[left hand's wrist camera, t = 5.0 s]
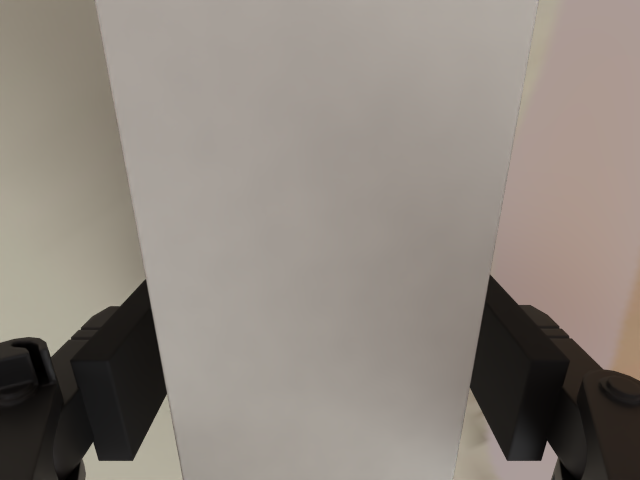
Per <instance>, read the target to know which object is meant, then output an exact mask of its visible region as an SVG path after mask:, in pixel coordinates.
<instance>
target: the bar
mask: <svg viewBox="0 0 640 480" xmlns="http://www.w3.org/2000/svg"><path fill="white" fill-rule="evenodd" d="M538 2H539V0H95V5H96V10H97V15H98V21H99V26H100V32H101V37H102V43H103V48H104V53H105V59H106V64H107V70H108V75H109V81H110V86H111V91H112V97H113V102H114V108H115V113H116V119H117V124H118V129H119V135H120V140H121V146H122V151H123V157H124V162H125V167H126V173H127V178H128V184H129V189H130V195H131V200H132V205H133V211H134V216H135V222H136V227H137V233H138V238H139V243H140V249H141V254H142V260H143V265H144V270H145V276H146V281H147V287H148V292H149V298H150V303H151V308H152V314H153V319H154V325H155V330H156V336H157V341H158V346H159V352H160V357H161V363H162V368H163V374H164V379H165V384H166V390H167V395H168V401H169V406H170V412H171V417H172V422H173V428H174V433H175V439H176V444H177V450H178V455H179V460H180V466H181V471H182V477H183V480H453V477H454V471H455V466H456V460H457V455H458V449H459V444H460V438H461V432H462V427H463V421H464V416H465V410H466V404H467V399H468V393H469V388H470V382H471V376H472V371H473V365H474V360H475V354H476V349H477V343H478V337H479V332H480V326H481V321H482V315H483V309H484V304H485V298H486V293H487V287H488V281H489V276H490V270H491V265H492V259H493V254H494V248H495V242H496V237H497V231H498V226H499V220H500V214H501V209H502V203H503V198H504V192H505V186H506V181H507V175H508V170H509V164H510V159H511V153H512V147H513V142H514V136H515V131H516V125H517V119H518V114H519V108H520V103H521V97H522V91H523V86H524V80H525V75H526V69H527V64H528V58H529V52H530V47H531V41H532V36H533V30H534V24H535V19H536V13H537V8H538Z"/></svg>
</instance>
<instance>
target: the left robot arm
mask: <svg viewBox="0 0 640 480" xmlns="http://www.w3.org/2000/svg"><path fill="white" fill-rule="evenodd" d="M470 389H471V391H472V393H473V394H474V396H475V398H476V400H477V402H478V404H479V406H480V408H481V410H482V412H483V414H484V416H485V418H486V420H487V422H488V424H489V426H490V428H491V430H492V432H493V434H494V436H495V438H496V440H497V442H498V444H499V445H500V448H501V449H502V452H503V454H504V455H505V457H506V459H507V461H541V460H542V456H543V453H544V449H545V446H546V442H547V441H548V442H549V444H550V445H551V447H552V448H553V450H554V451H555V453H556V455H557V456H558V459H557V463H556V466H555V469H554V472H553V476H552V479H551V480H640V381H639V380H637V379H635V378H633V377H631V376H628V375H625V374H622V373H619V372H616V371H610V370H603V369H602V368H601V367H600V366H599V365H598V364H597V363H596V362H595V361H594V360H593V359H592V358H591V357H590V356H589V355H588V354H587V353H586V352H585V351H584V350H583V349H582V348H581V347H580V346H579V345H578V344H577V343H576V342H575V341H574V340H573V339H570V338H569V335H568V334H567V333H565V331H563V330H562V329H560V328H559V326H558V325H557V324H556V323H555V322H554V321H553V320H552V319H551V318H550V317H549V316H548V315H547V314H545V313H543V312H542V311H540V310H538V309H536V308H534V307H533V306H531V305H518V304H517V303H516V302H515V301H514V300H513V299H512V298H511V297H510V295H509V294H508V293H507V292H506V291H505V290H504V289H503V288H502V287H501V286H500V285H499V284H498V283H497V282H496V280H495V279H494V278H493V277H492V276H491V275H490V276H489V281H488V287H487V293H486V298H485V304H484V309H483V315H482V321H481V326H480V332H479V337H478V343H477V349H476V354H475V360H474V365H473V371H472V376H471V382H470ZM166 394H167V390H166V384H165V379H164V374H163V368H162V363H161V357H160V352H159V346H158V341H157V336H156V330H155V325H154V319H153V314H152V308H151V303H150V298H149V292H148V287H147V281H146V279H145V280H144V281H143V283H142V284H141V285H140V286H139V287H138V288H137V289H136V290H135V291H134V292H133V293H132V294H131V295H130V296H129V298H128V299H127V300H126V301H125V302H124V303H123V304H122V305H121V306H110V307H108V308H106V309H105V310H103V311H101V312H99V313H98V314H96V315H94V316H92V317H91V318H90V319H89V320H88V321H87V322H86V323H85V324H84V325H83V326H82V327H81V330H78V331H77V332H76V333H75V334H74V335H73V336H72V337H71V340H68V341H67V342H66V343H65V344H64V345H63V346H62V347H61V348H60V349H59V350H58V351H57V352H56V353H55V354H54V355H53V356H52V357H50V353H49V350H48V347H47V344H46V342H45V341H43V340H42V339H40V338H32V337H26V338H18V339H12V340H9V341H5V342H2V343H0V480H85V476H86V472H85V466H84V463H83V459H82V458H83V457H84V455H85V454H86V452H87V450H88V449H89V447H90V446H91V444H92V443H93V442H94V446H95V449H96V453H97V456H98V460H99V461H133V459H134V457H135V455H136V453H137V452H138V450H139V448H140V446H141V444H142V442H143V440H144V438H145V436H146V434H147V432H148V430H149V428H150V426H151V424H152V422H153V420H154V418H155V416H156V414H157V412H158V410H159V408H160V406H161V404H162V402H163V400H164V398H165V396H166Z"/></svg>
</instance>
